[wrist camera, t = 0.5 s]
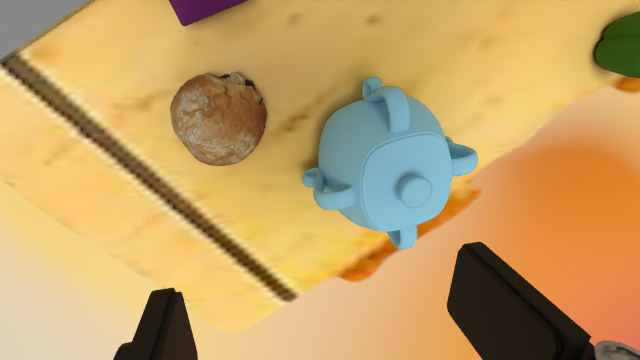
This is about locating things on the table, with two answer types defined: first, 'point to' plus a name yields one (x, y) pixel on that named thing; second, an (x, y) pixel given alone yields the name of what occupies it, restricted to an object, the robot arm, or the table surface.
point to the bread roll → (218, 118)
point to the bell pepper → (621, 47)
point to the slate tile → (31, 21)
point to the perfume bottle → (200, 9)
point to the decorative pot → (386, 163)
